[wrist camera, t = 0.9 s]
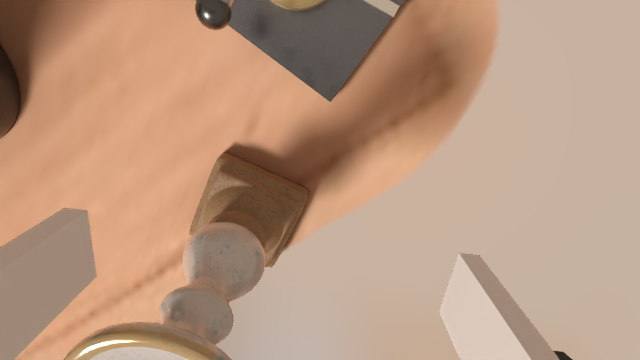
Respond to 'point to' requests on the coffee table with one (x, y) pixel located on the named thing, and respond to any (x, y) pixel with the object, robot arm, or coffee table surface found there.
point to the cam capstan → (217, 13)
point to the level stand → (315, 36)
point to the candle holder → (211, 267)
